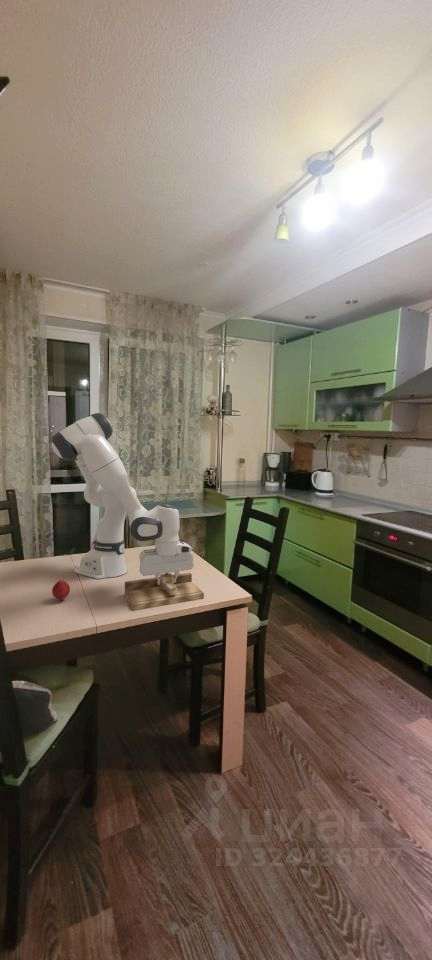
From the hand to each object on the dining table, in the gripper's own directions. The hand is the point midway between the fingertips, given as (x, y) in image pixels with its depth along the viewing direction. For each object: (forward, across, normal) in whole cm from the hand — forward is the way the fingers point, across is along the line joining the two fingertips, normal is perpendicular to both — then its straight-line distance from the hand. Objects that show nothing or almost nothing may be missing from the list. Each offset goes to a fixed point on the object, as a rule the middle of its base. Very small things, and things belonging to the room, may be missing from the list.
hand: (166, 583), depth 143 cm
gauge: (+1, 0, -3) cm, 3 cm away
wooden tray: (+4, -2, -2) cm, 5 cm away
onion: (+4, -36, +8) cm, 38 cm away
